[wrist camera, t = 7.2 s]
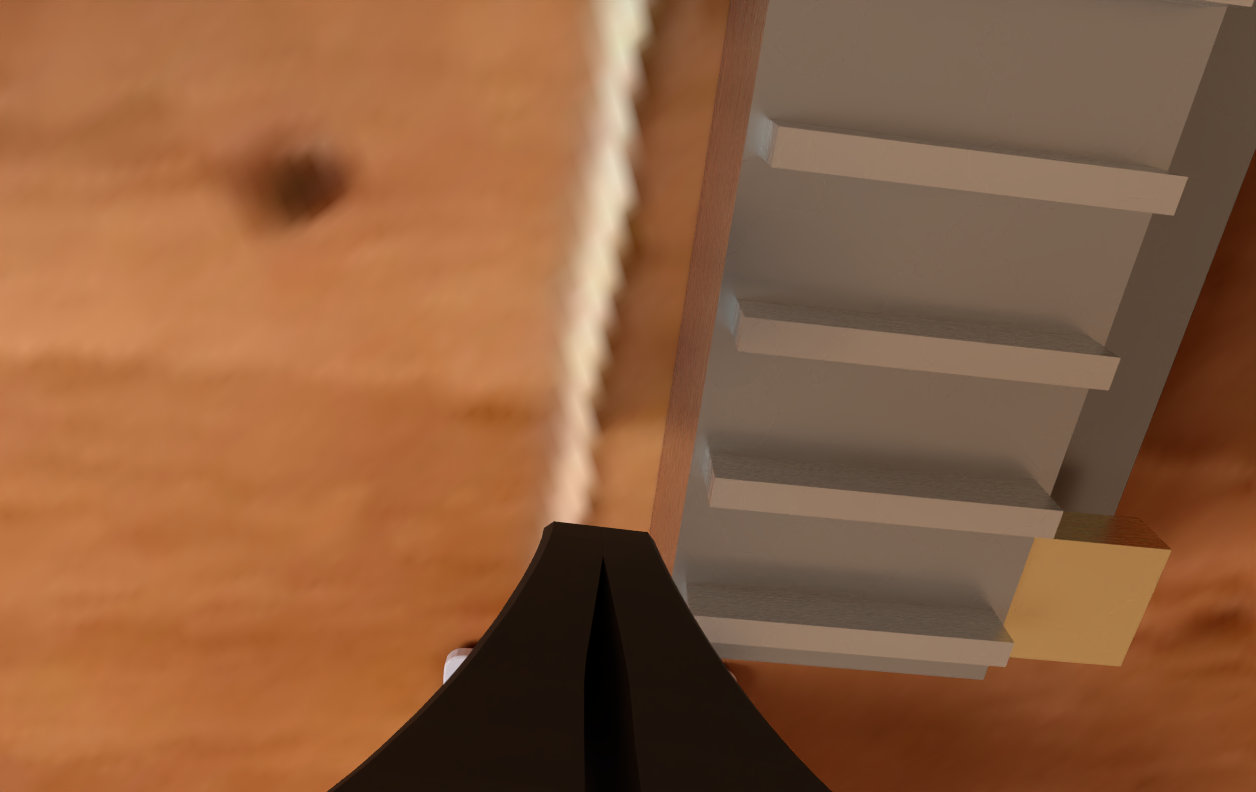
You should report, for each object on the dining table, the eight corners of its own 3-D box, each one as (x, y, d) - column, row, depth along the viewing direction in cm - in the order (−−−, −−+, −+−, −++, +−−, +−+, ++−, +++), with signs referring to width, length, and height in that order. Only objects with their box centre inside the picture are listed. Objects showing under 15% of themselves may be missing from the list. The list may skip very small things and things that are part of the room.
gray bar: (1027, 581, 24) (1075, 648, 21) (934, 574, 24) (972, 640, 21) (1349, -335, 16) (1488, -399, 13) (1211, -355, 16) (1325, -424, 13)
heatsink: (1025, 566, 23) (1143, 725, 18) (650, 532, 22) (661, 687, 17) (1323, -257, 16) (1662, -383, 11) (783, -343, 15) (871, -521, 10)
